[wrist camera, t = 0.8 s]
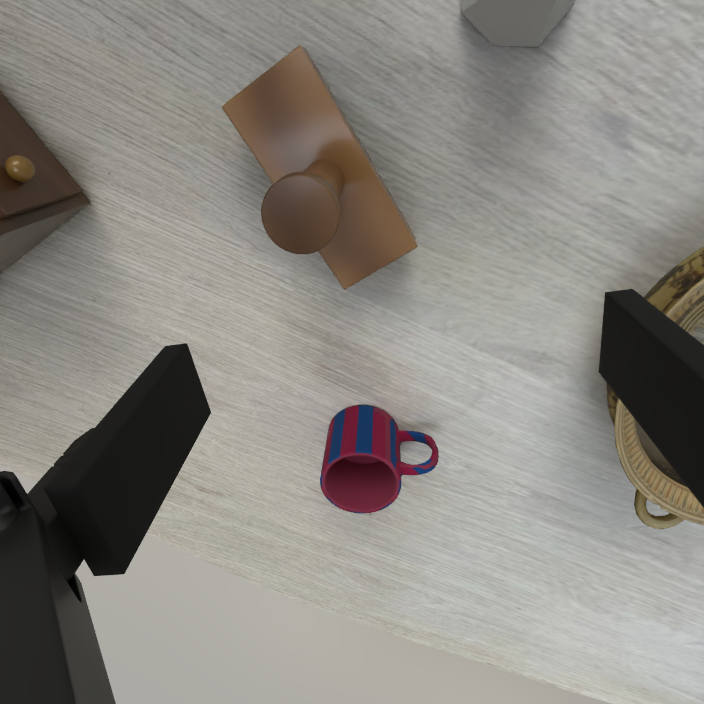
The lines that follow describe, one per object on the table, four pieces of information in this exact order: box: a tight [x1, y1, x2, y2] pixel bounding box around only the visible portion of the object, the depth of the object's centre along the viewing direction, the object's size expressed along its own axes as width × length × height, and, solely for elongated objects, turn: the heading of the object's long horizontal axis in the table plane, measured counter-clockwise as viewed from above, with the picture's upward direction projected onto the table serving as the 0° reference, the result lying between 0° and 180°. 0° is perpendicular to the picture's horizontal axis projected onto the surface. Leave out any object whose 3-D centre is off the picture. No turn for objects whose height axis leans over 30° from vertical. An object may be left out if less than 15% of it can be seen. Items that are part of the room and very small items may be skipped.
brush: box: [222, 46, 417, 289], centre depth 29 cm, size 6×14×15 cm, turn 33°
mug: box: [320, 405, 438, 513], centre depth 44 cm, size 7×10×7 cm
